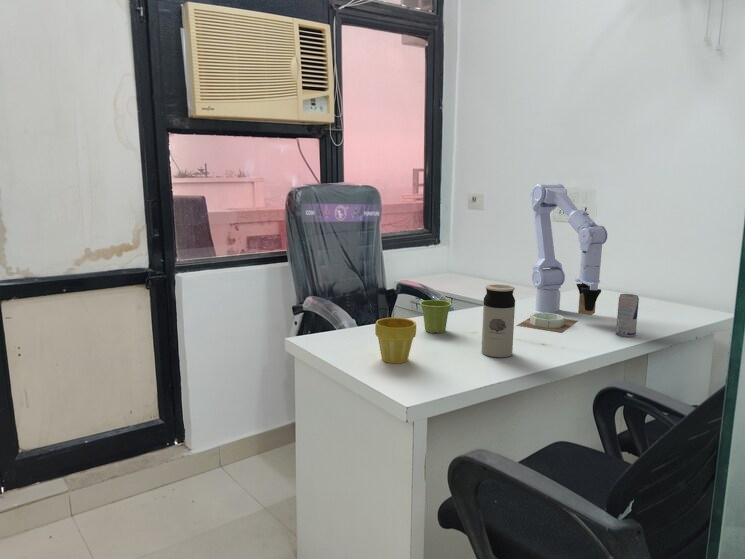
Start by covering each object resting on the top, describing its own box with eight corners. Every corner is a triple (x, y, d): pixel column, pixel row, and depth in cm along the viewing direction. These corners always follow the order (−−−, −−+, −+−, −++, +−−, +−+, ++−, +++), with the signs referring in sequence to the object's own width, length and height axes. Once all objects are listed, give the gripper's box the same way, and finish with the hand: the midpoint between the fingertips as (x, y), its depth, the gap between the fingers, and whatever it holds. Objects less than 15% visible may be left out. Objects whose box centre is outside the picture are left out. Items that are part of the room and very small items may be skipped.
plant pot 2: (413, 330, 167) (413, 303, 165) (431, 325, 174) (432, 298, 172) (438, 337, 161) (439, 308, 159) (456, 330, 168) (457, 302, 166)
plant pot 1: (423, 361, 139) (424, 323, 137) (390, 368, 133) (390, 329, 131) (399, 350, 147) (400, 315, 146) (367, 357, 142) (367, 320, 140)
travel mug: (487, 347, 151) (490, 282, 148) (515, 352, 147) (519, 285, 144) (477, 355, 144) (480, 287, 141) (507, 360, 140) (510, 290, 137)
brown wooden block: (581, 310, 175) (583, 292, 174) (594, 312, 172) (596, 294, 171) (578, 313, 172) (579, 294, 170) (591, 315, 169) (593, 296, 168)
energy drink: (637, 334, 164) (641, 295, 162) (631, 338, 161) (635, 298, 158) (619, 331, 168) (622, 292, 166) (613, 334, 164) (616, 295, 162)
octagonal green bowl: (536, 318, 179) (537, 311, 179) (566, 322, 174) (567, 315, 173) (526, 324, 171) (526, 317, 171) (557, 329, 166) (558, 321, 166)
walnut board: (535, 317, 185) (535, 314, 185) (578, 323, 177) (578, 320, 177) (515, 328, 170) (515, 325, 170) (561, 336, 162) (561, 332, 162)
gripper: (572, 261, 177) (569, 302, 179) (581, 268, 163) (577, 313, 165) (595, 262, 176) (592, 303, 178) (606, 269, 162) (602, 314, 164)
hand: (586, 308), depth 172 cm, fingers closed on brown wooden block, 5 cm apart
